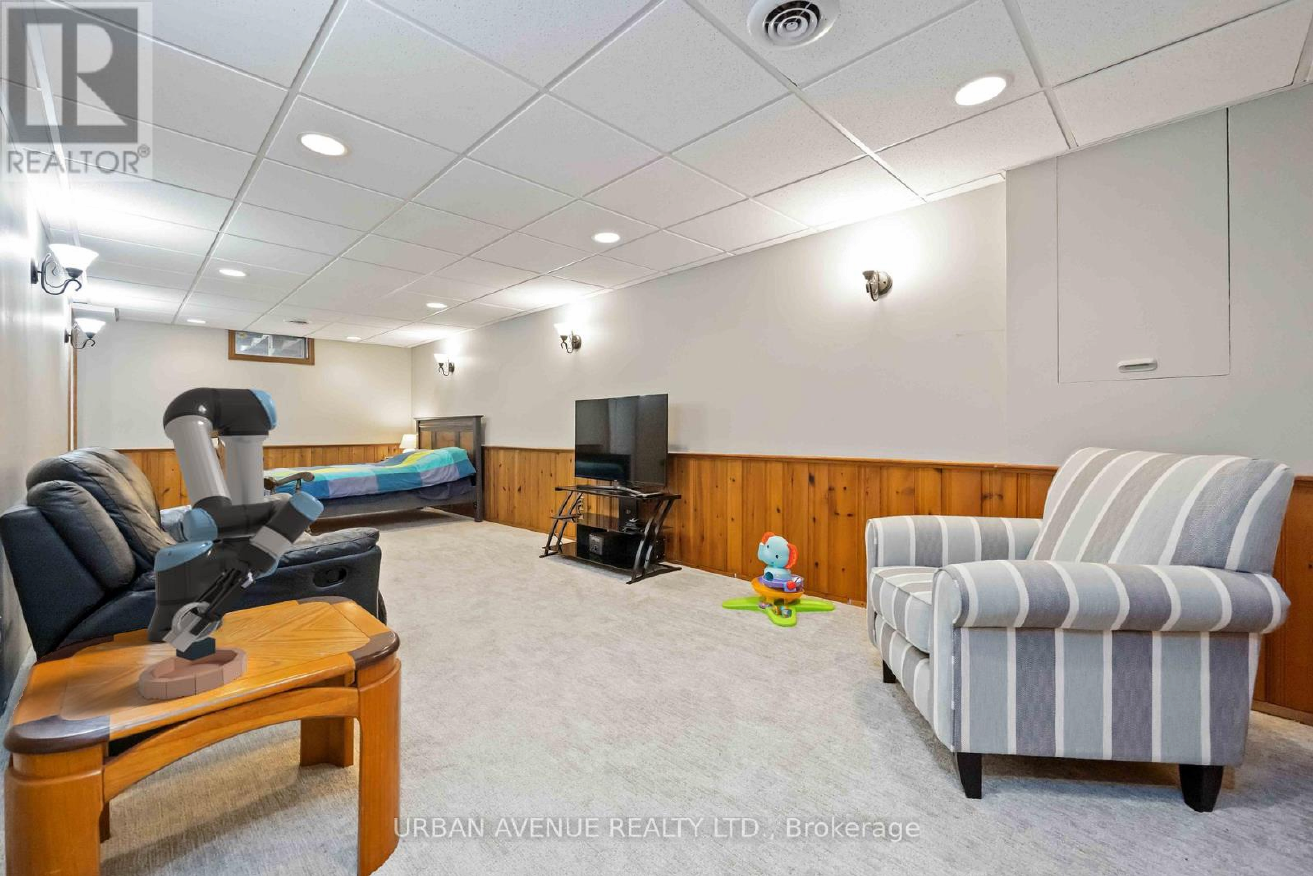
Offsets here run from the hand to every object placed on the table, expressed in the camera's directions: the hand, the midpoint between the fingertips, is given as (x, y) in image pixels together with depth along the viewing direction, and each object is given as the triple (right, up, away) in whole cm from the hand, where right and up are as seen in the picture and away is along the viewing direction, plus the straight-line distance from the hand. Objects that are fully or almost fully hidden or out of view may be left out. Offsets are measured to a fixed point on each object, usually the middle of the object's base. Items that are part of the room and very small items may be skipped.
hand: (172, 645), depth 113 cm
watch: (+2, -3, +3) cm, 5 cm away
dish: (+2, -9, +4) cm, 9 cm away
